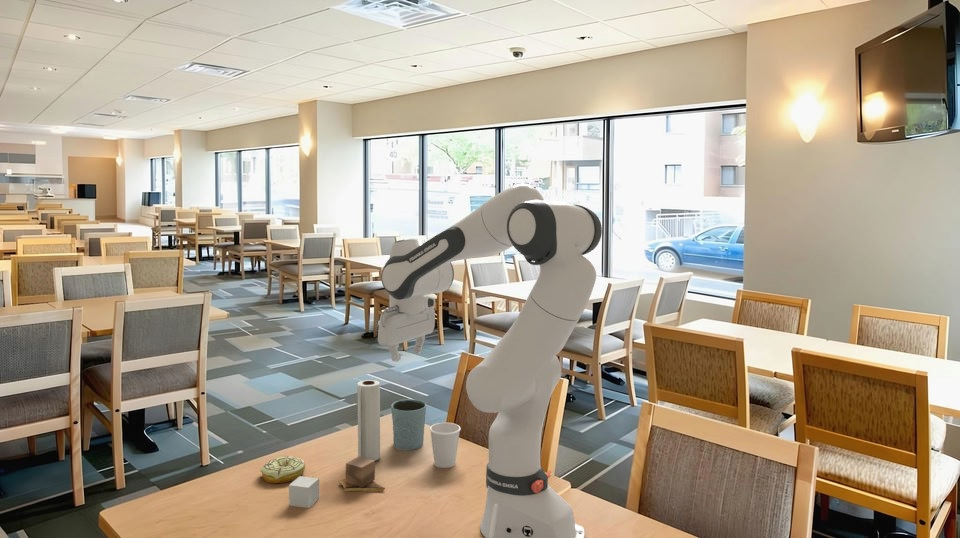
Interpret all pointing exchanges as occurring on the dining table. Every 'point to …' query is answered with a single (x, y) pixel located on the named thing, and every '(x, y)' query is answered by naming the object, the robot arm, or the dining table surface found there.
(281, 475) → the decorated donut
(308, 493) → the grey cube
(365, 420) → the paper towel roll
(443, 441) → the dixie cup
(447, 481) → the dining table surface
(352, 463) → the walnut cube
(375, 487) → the shard
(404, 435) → the teal plant pot
